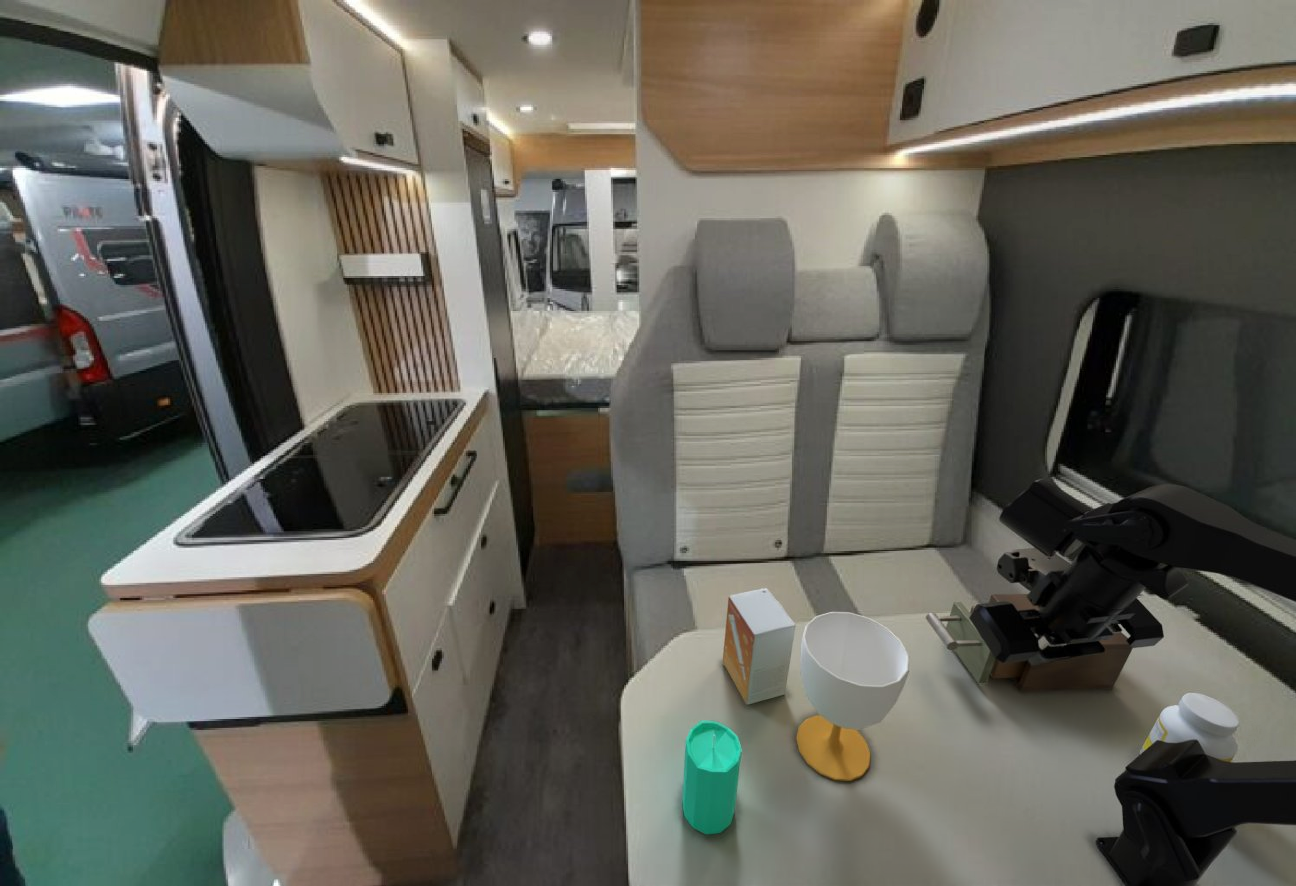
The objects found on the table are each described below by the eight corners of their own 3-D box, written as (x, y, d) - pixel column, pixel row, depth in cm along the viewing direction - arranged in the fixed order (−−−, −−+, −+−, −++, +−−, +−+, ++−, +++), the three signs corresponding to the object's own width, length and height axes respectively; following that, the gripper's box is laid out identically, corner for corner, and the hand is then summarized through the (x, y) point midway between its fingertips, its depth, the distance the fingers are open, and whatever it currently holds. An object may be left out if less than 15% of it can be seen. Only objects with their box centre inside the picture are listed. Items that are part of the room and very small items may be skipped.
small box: (721, 662, 81) (727, 594, 76) (759, 653, 83) (767, 586, 77) (745, 706, 74) (754, 634, 68) (786, 695, 76) (797, 624, 70)
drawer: (944, 684, 76) (956, 648, 74) (912, 636, 85) (921, 602, 82) (1063, 682, 77) (1079, 646, 74) (1019, 634, 86) (1032, 600, 83)
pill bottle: (1220, 809, 62) (1269, 740, 57) (1156, 797, 63) (1199, 729, 58) (1181, 757, 68) (1222, 691, 63) (1123, 747, 69) (1159, 681, 64)
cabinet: (1020, 690, 77) (1039, 645, 73) (976, 636, 86) (991, 594, 83) (1112, 689, 77) (1135, 643, 74) (1058, 635, 87) (1076, 592, 83)
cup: (785, 779, 64) (803, 675, 58) (786, 699, 75) (801, 603, 68) (888, 803, 62) (921, 698, 55) (874, 717, 72) (900, 620, 65)
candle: (673, 791, 63) (677, 720, 58) (719, 773, 65) (726, 703, 60) (695, 843, 58) (701, 769, 53) (744, 822, 60) (753, 750, 55)
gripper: (1120, 519, 62) (1057, 597, 72) (968, 534, 61) (925, 611, 71) (1207, 602, 54) (1122, 677, 64) (1031, 621, 52) (973, 695, 62)
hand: (1031, 661), depth 65 cm, fingers closed
